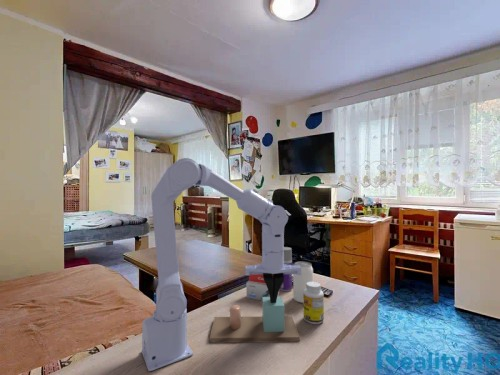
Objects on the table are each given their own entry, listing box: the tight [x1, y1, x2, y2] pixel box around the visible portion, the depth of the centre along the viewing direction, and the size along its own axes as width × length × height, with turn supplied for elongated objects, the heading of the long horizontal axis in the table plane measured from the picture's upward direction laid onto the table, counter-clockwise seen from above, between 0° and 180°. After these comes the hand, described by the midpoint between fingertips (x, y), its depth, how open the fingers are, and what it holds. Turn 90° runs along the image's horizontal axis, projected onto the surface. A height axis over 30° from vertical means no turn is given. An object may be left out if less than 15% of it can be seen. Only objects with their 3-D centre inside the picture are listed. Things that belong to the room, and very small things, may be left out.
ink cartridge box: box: [245, 274, 280, 301], centre depth 85 cm, size 2×11×10 cm, turn 67°
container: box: [279, 246, 293, 292], centre depth 93 cm, size 5×5×15 cm
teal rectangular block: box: [261, 296, 285, 332], centre depth 66 cm, size 5×5×7 cm
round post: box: [229, 304, 242, 330], centre depth 66 cm, size 3×3×5 cm
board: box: [209, 315, 301, 343], centre depth 66 cm, size 22×10×1 cm, turn 91°
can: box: [292, 260, 314, 304], centre depth 84 cm, size 6×6×12 cm
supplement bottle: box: [303, 281, 325, 325], centre depth 71 cm, size 6×6×10 cm
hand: (273, 301), depth 66 cm, fingers closed, pressing on teal rectangular block
